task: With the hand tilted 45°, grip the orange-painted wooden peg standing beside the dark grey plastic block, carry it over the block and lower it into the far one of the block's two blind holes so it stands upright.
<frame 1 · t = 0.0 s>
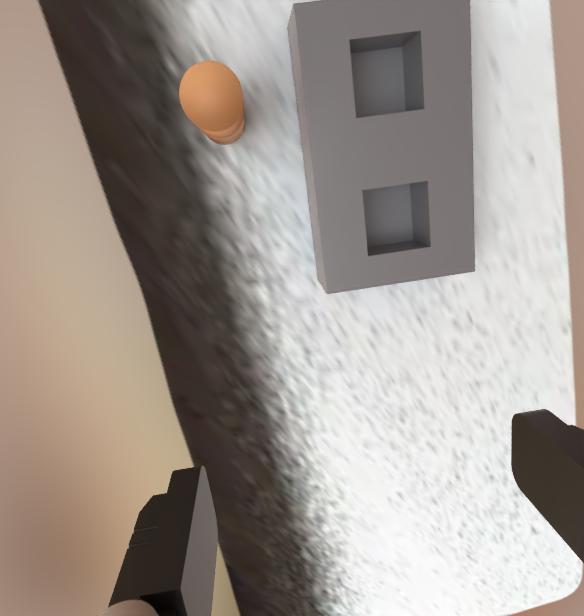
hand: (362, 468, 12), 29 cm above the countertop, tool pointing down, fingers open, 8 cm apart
hole block: (374, 153, 38), on the countertop
peg: (223, 121, 36), on the countertop
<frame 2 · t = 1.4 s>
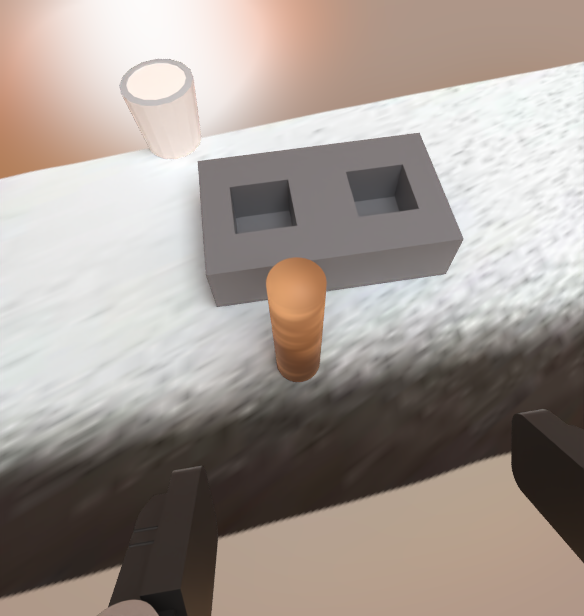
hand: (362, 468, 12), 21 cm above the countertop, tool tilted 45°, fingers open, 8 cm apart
hole block: (320, 234, 42), on the countertop
shot glass: (175, 141, 48), on the countertop
peg: (298, 361, 36), on the countertop
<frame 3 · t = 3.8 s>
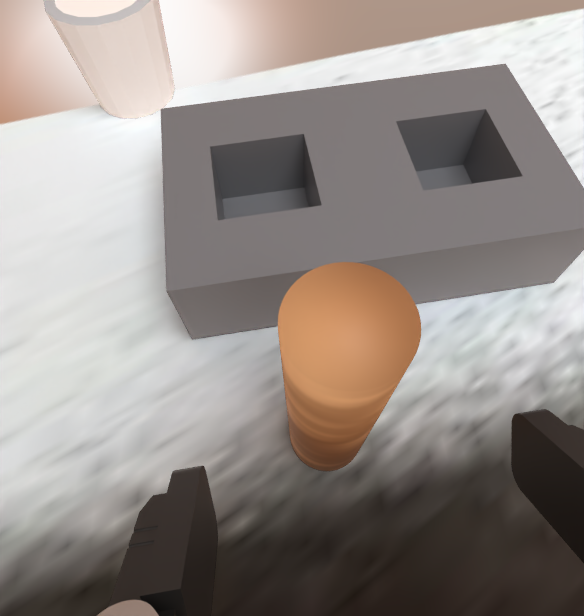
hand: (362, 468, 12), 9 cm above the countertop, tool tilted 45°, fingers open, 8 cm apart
hole block: (352, 223, 27), on the countertop
shot glass: (138, 95, 34), on the countertop
peg: (325, 433, 21), on the countertop
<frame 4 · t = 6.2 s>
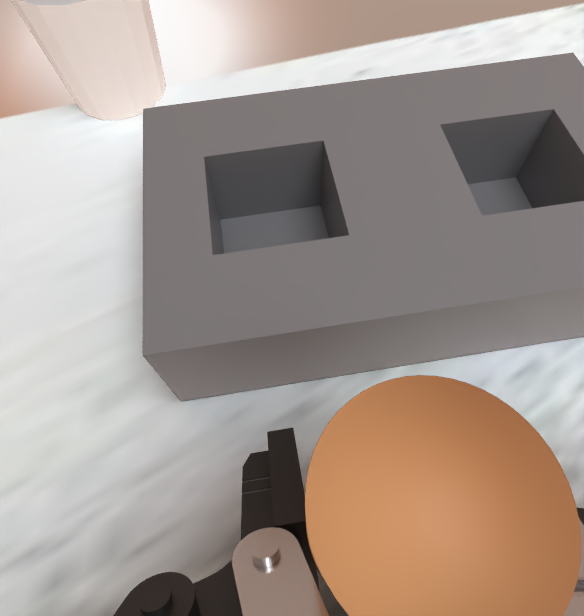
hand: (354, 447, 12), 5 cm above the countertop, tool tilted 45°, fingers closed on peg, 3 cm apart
hole block: (380, 250, 22), on the countertop
shot glass: (122, 93, 29), on the countertop
peg: (353, 534, 16), on the countertop, touching gripper
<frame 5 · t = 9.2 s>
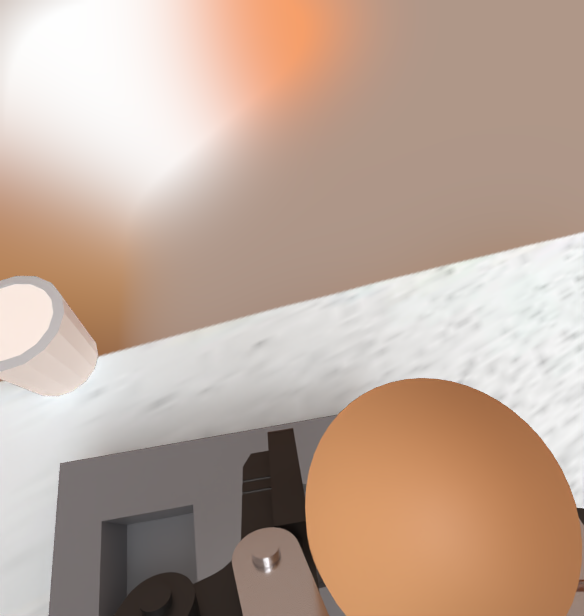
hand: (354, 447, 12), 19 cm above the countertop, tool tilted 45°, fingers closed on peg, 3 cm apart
hole block: (252, 547, 28), on the countertop
shot glass: (62, 362, 35), on the countertop
peg: (354, 536, 16), point 14 cm above the countertop, touching gripper
when the fingers open (8 cm above the countertop, at t = 12.6 s): peg drops 1 cm, resting on hole block.
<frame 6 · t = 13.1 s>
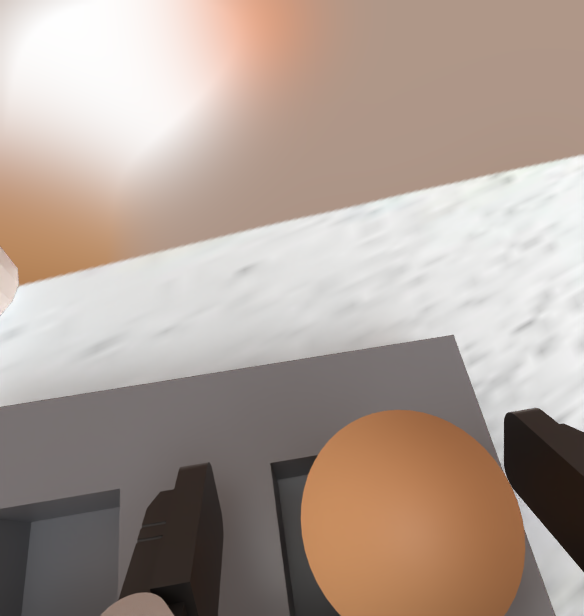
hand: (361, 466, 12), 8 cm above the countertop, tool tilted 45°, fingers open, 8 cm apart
hole block: (226, 558, 18), on the countertop
peg: (348, 539, 18), point 1 cm above the countertop, touching hole block
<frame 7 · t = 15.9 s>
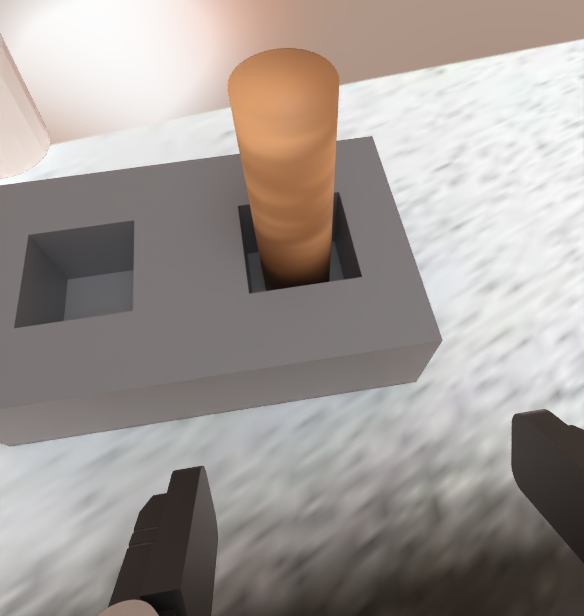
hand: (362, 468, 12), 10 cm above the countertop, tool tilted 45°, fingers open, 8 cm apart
hole block: (209, 307, 25), on the countertop
shot glass: (11, 151, 32), on the countertop
peg: (297, 286, 24), point 1 cm above the countertop, touching hole block
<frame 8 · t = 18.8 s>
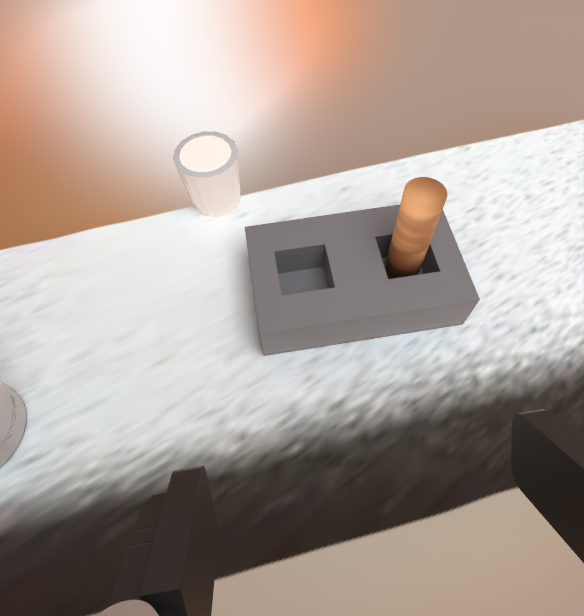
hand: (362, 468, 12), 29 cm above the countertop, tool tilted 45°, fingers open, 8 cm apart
hole block: (351, 288, 47), on the countertop
shot glass: (217, 199, 54), on the countertop
peg: (399, 276, 47), point 1 cm above the countertop, touching hole block
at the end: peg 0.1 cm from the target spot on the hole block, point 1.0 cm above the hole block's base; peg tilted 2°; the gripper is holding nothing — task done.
